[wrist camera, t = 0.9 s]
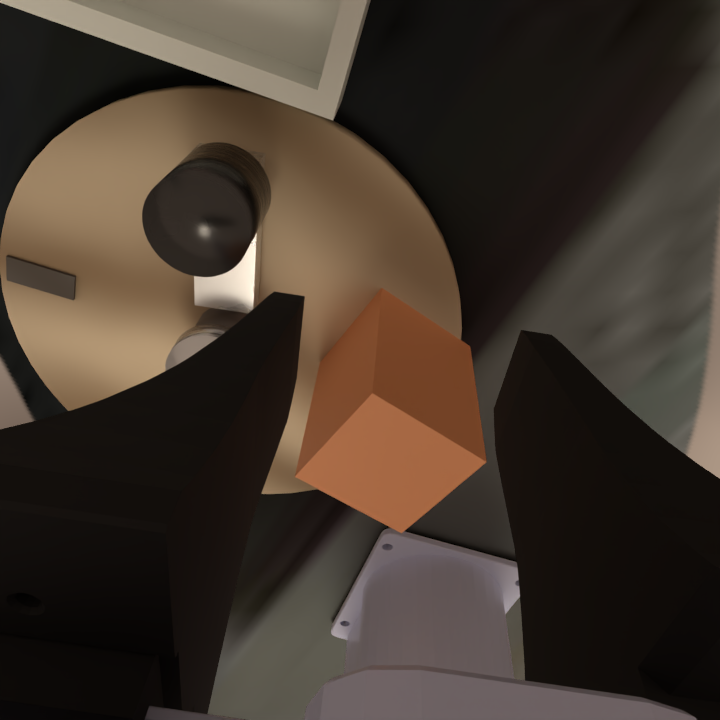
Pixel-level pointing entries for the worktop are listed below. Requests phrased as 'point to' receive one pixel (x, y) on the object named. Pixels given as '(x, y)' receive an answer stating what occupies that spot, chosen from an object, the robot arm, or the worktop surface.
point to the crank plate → (176, 289)
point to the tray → (233, 40)
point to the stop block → (393, 415)
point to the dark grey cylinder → (211, 232)
